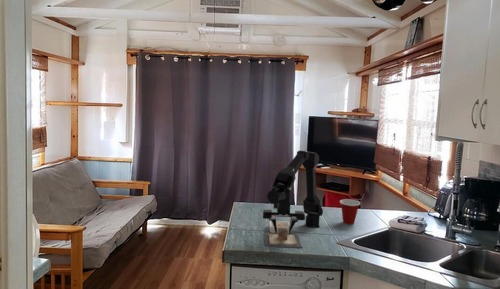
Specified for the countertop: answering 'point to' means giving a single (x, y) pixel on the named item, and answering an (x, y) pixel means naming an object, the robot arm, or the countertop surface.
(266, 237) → the mat
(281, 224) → the dish
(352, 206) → the plastic cup
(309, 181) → the robot arm
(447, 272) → the countertop surface
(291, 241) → the lid
